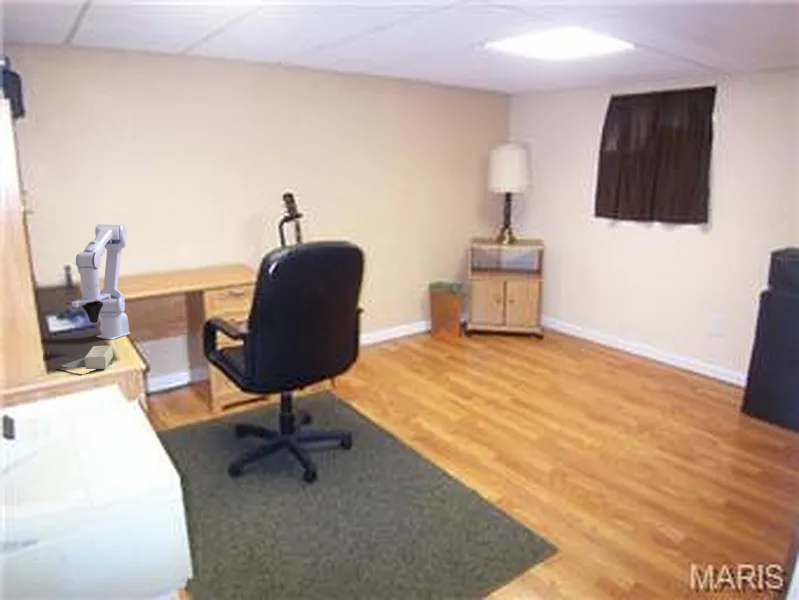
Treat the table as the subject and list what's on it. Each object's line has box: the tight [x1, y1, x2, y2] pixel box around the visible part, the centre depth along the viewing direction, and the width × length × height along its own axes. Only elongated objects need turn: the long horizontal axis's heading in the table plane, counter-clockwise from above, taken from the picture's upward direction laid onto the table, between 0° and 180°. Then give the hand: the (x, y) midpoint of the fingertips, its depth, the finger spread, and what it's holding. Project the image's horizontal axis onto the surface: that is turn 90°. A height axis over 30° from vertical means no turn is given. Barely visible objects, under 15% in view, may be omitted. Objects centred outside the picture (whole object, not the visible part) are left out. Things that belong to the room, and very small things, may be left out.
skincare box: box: [84, 345, 114, 370], centre depth 193 cm, size 6×4×12 cm
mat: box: [61, 357, 114, 368], centre depth 192 cm, size 12×12×1 cm
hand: (94, 322), depth 206 cm, fingers closed
